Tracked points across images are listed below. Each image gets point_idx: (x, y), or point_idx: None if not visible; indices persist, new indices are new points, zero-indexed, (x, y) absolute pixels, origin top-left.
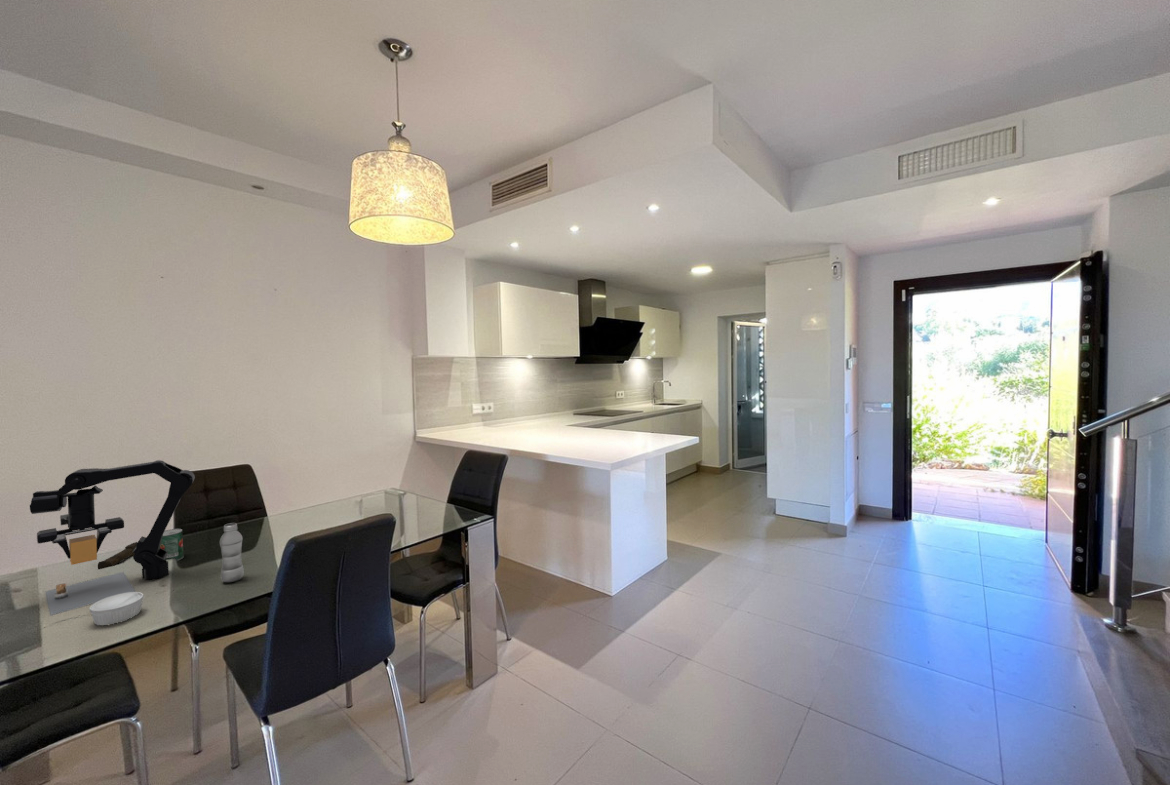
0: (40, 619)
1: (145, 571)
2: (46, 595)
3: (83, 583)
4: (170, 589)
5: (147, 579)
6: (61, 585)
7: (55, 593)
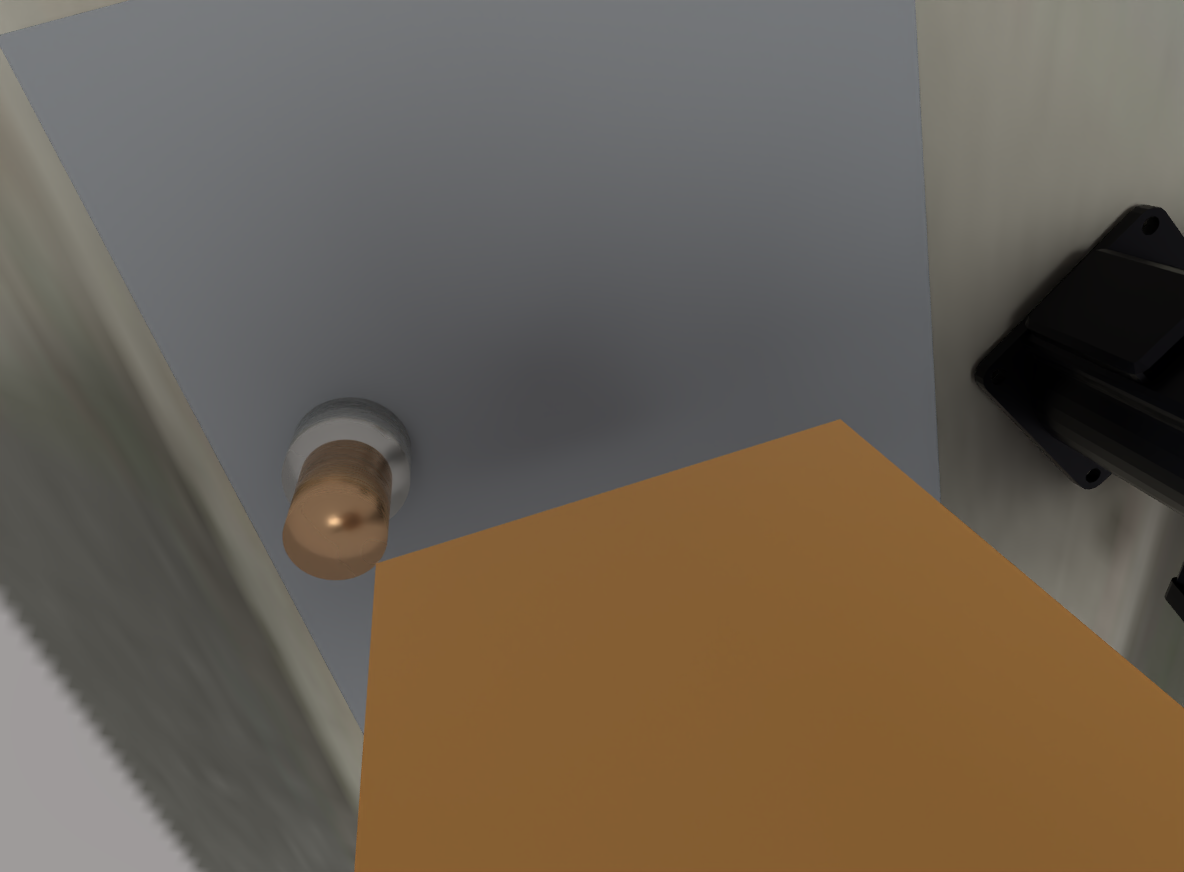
0: (334, 759)
1: (1139, 475)
2: (120, 266)
3: (457, 25)
4: (1125, 643)
5: (1072, 446)
6: (354, 570)
7: (284, 471)
